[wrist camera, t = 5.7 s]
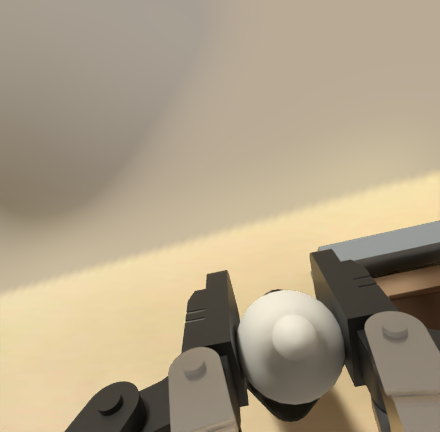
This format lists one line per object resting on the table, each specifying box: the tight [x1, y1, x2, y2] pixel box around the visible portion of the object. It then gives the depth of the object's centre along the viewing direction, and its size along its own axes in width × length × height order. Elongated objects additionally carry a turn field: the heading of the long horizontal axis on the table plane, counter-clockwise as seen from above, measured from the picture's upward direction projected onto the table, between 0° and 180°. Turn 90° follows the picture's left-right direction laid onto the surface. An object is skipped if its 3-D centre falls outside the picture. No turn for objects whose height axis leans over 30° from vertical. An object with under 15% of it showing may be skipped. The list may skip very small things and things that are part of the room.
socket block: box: [374, 265, 440, 330], centre depth 28 cm, size 10×10×7 cm
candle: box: [236, 289, 345, 422], centre depth 18 cm, size 5×5×25 cm
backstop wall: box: [311, 221, 440, 279], centre depth 30 cm, size 16×2×9 cm, turn 100°
